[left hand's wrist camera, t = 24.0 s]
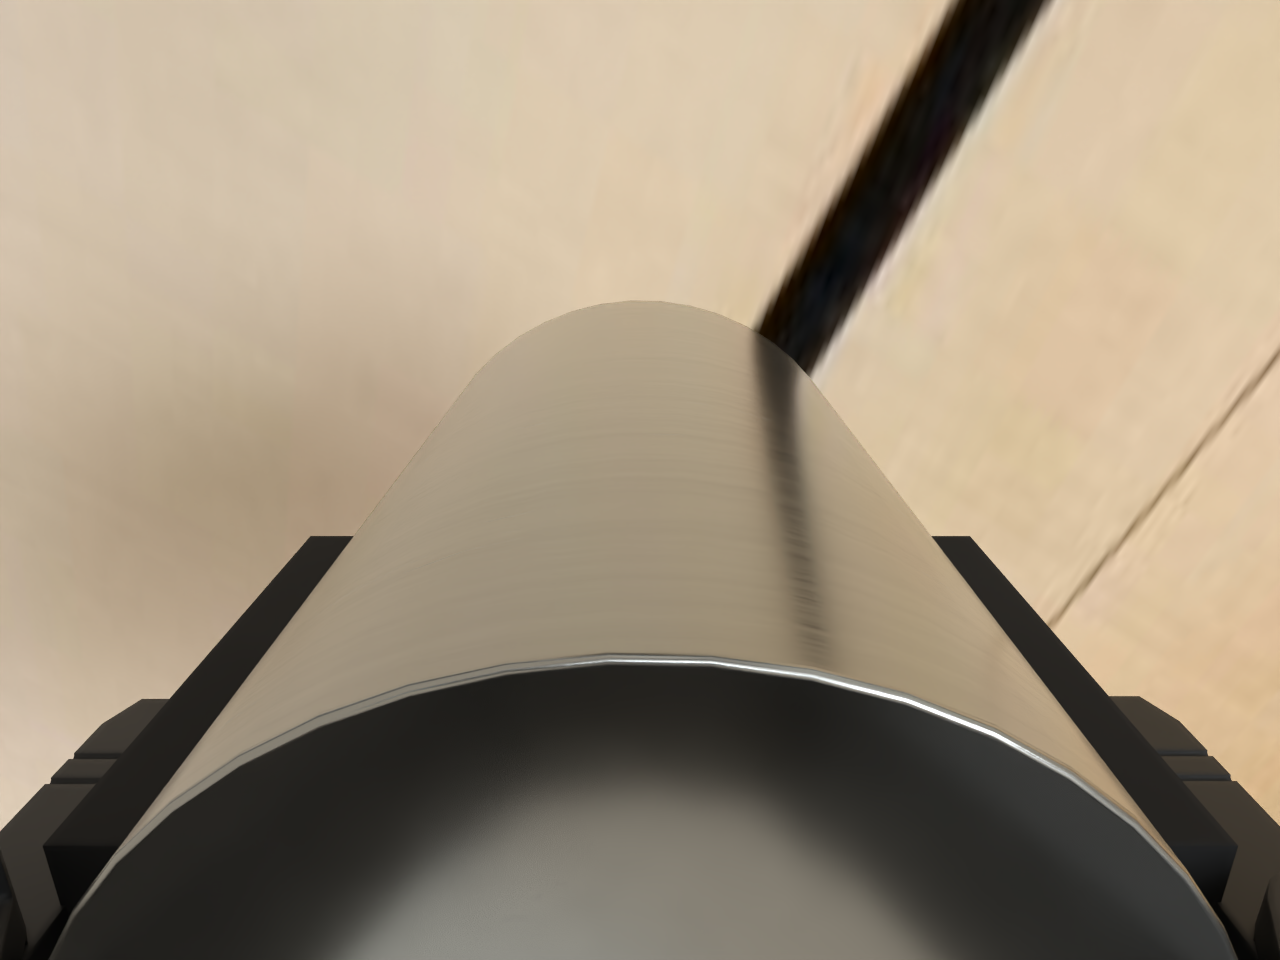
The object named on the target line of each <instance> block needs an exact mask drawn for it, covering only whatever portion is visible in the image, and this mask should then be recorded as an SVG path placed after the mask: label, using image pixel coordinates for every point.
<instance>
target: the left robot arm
mask: <svg viewBox="0 0 1280 960" xmlns="http://www.w3.org/2000/svg"><path fill="white" fill-rule="evenodd" d="M353 537H354V536H310V538H309V539H308V540H307V541H306V542H305V543H304V545H303V546H302V547H301V548H300V549H299V550H298V551H297V553H296V554H295V555H294V556H293V557H292V558H291V560H290V561H289V562H288V563H287V564H286V565H285V566H284V568H283V569H282V570H281V571H280V572H279V573H278V575H277V576H276V577H275V578H274V579H273V580H272V581H271V583H270V584H269V585H268V586H267V587H266V588H265V590H264V591H263V592H262V593H261V594H260V595H259V596H258V598H257V599H256V600H255V601H254V602H253V603H252V605H251V606H250V607H249V608H248V609H247V610H246V611H245V613H244V614H243V615H242V616H241V617H240V618H239V619H238V621H237V622H236V623H235V624H234V625H233V626H232V628H231V629H230V630H229V631H228V632H227V633H226V634H225V636H224V637H223V638H222V639H221V640H220V641H219V643H218V644H217V645H216V646H215V647H214V648H213V649H212V651H211V652H210V653H209V654H208V655H207V656H206V658H205V659H204V660H203V661H202V662H201V663H200V664H199V666H198V667H197V668H196V669H195V670H194V671H193V673H192V674H191V675H190V676H189V677H188V678H187V679H186V681H185V682H184V683H183V684H182V685H181V686H180V688H179V689H178V690H177V691H176V692H175V693H174V694H173V696H172V697H171V698H170V699H141V700H140V701H138V702H137V703H135V704H133V705H132V706H130V707H129V708H127V709H125V710H124V711H122V712H121V713H119V714H117V715H116V716H114V717H113V718H111V719H109V720H108V721H106V722H105V723H103V724H102V725H101V726H100V727H99V728H98V729H97V730H96V731H95V732H94V733H93V734H92V735H91V736H90V737H89V738H88V739H87V740H86V741H85V743H84V744H83V745H82V746H81V747H80V748H79V749H78V750H77V751H76V752H75V753H74V758H73V759H68V760H67V762H66V763H65V764H64V765H63V766H62V767H61V768H60V769H59V770H58V771H57V772H56V773H55V774H54V775H53V776H52V777H51V783H50V784H45V785H44V786H43V787H42V788H41V789H40V790H39V791H38V792H37V793H36V794H35V795H34V796H33V797H32V798H31V800H30V801H29V802H28V803H27V804H26V805H25V806H24V807H23V808H22V809H21V810H20V811H19V812H18V813H17V814H16V815H15V816H14V817H13V819H12V820H11V821H10V822H9V823H8V824H7V825H6V826H5V827H4V828H3V829H2V830H1V831H0V960H48V959H49V957H50V955H51V953H52V951H53V949H54V947H55V945H56V943H57V941H58V939H59V937H60V935H61V933H62V931H63V929H64V927H65V925H66V923H67V921H68V919H69V916H70V914H71V912H72V910H73V908H74V907H75V906H76V904H77V903H78V902H79V900H80V899H81V898H82V896H83V895H84V894H85V892H86V891H87V890H88V888H89V887H90V886H91V884H92V883H93V882H94V880H95V879H96V878H97V876H98V875H99V874H100V872H101V871H102V870H103V868H104V867H105V866H106V864H107V863H108V862H109V860H110V859H111V858H112V856H113V855H114V854H115V852H116V851H117V850H118V848H119V847H120V846H121V844H122V843H123V842H124V840H125V839H126V838H127V836H128V835H129V834H130V832H131V831H132V830H133V828H134V827H135V826H136V824H137V823H138V822H139V820H140V819H141V818H142V816H143V815H144V814H145V812H146V811H147V810H148V808H149V807H150V806H151V804H152V803H153V802H154V801H155V799H156V798H157V797H158V795H159V794H160V793H161V791H162V790H163V789H164V787H165V786H166V785H167V783H168V782H169V781H170V779H171V778H172V777H173V775H174V774H175V773H176V771H177V770H178V769H179V767H180V766H181V765H182V763H183V762H184V761H185V759H186V758H187V757H188V755H189V754H190V753H191V751H192V750H193V749H194V747H195V746H196V745H197V744H198V742H199V741H200V740H201V738H202V737H203V736H204V734H205V733H206V732H207V730H208V729H209V728H210V726H211V725H212V724H213V722H214V721H215V720H216V718H217V717H218V716H219V714H220V713H221V712H222V710H223V709H224V708H225V706H226V705H227V704H228V702H229V701H230V700H231V698H232V697H233V696H234V694H235V693H236V692H237V690H238V689H239V688H240V686H241V685H242V684H243V683H244V681H245V680H246V679H247V677H248V676H249V675H250V673H251V672H252V671H253V669H254V668H255V667H256V665H257V664H258V663H259V661H260V660H261V659H262V657H263V656H264V655H265V653H266V652H267V651H268V649H269V648H270V647H271V645H272V644H273V643H274V641H275V640H276V639H277V637H278V636H279V635H280V633H281V632H282V631H283V629H284V628H285V627H286V626H287V624H288V623H289V622H290V620H291V619H292V618H293V616H294V615H295V614H296V612H297V611H298V610H299V608H300V607H301V606H302V604H303V603H304V602H305V600H306V599H307V598H308V596H309V595H310V594H311V592H312V591H313V590H314V588H315V587H316V586H317V584H318V583H319V582H320V580H321V579H322V578H323V576H324V575H325V574H326V572H327V571H328V570H329V569H330V567H331V566H332V565H333V563H334V562H335V561H336V559H337V558H338V557H339V555H340V554H341V553H342V551H343V550H344V549H345V547H346V546H347V545H348V543H349V542H350V541H351V539H352V538H353ZM931 537H932V538H933V539H934V540H935V542H936V543H937V544H938V546H939V547H940V548H941V550H942V551H943V552H944V554H945V555H946V556H947V557H948V559H949V560H950V561H951V563H952V564H953V565H954V567H955V568H956V569H957V570H958V572H959V573H960V574H961V576H962V577H963V578H964V580H965V581H966V582H967V584H968V585H969V586H970V587H971V589H972V590H973V591H974V593H975V594H976V595H977V597H978V598H979V599H980V601H981V602H982V603H983V604H984V606H985V607H986V608H987V610H988V611H989V612H990V614H991V615H992V616H993V617H994V619H995V620H996V621H997V623H998V624H999V625H1000V627H1001V628H1002V629H1003V631H1004V632H1005V633H1006V634H1007V636H1008V637H1009V638H1010V640H1011V641H1012V642H1013V644H1014V645H1015V646H1016V647H1017V649H1018V650H1019V651H1020V653H1021V654H1022V655H1023V657H1024V658H1025V659H1026V661H1027V662H1028V663H1029V664H1030V666H1031V667H1032V668H1033V670H1034V671H1035V672H1036V674H1037V675H1038V676H1039V678H1040V679H1041V680H1042V681H1043V683H1044V684H1045V685H1046V687H1047V688H1048V689H1049V691H1050V692H1051V693H1052V694H1053V696H1054V697H1055V698H1056V700H1057V701H1058V702H1059V704H1060V705H1061V706H1062V708H1063V709H1064V710H1065V711H1066V713H1067V714H1068V715H1069V717H1070V718H1071V719H1072V721H1073V722H1074V723H1075V724H1076V726H1077V727H1078V728H1079V730H1080V731H1081V732H1082V734H1083V735H1084V736H1085V738H1086V739H1087V740H1088V741H1089V743H1090V744H1091V745H1092V747H1093V748H1094V749H1095V751H1096V752H1097V753H1098V755H1099V756H1100V757H1101V758H1102V760H1103V761H1104V762H1105V764H1106V765H1107V766H1108V768H1109V769H1110V770H1111V771H1112V773H1113V774H1114V775H1115V777H1116V778H1117V779H1118V781H1119V782H1120V783H1121V785H1122V786H1123V787H1124V788H1125V790H1126V791H1127V792H1128V794H1129V795H1130V796H1131V798H1132V799H1133V800H1134V802H1135V803H1136V804H1137V805H1138V807H1139V808H1140V809H1141V811H1142V812H1143V813H1144V815H1145V816H1146V817H1147V818H1148V820H1149V821H1150V822H1151V824H1152V825H1153V826H1154V828H1155V829H1156V830H1157V832H1158V833H1159V834H1160V835H1161V837H1162V838H1163V839H1164V841H1165V842H1166V843H1167V845H1168V846H1169V847H1170V848H1171V850H1172V851H1173V852H1174V854H1175V855H1176V856H1177V858H1178V859H1179V860H1180V862H1181V863H1182V864H1183V865H1184V867H1185V868H1186V869H1187V871H1188V872H1189V874H1190V875H1191V877H1192V878H1193V880H1194V881H1195V883H1196V884H1197V886H1198V887H1199V889H1200V890H1201V892H1202V894H1203V895H1204V897H1205V898H1206V900H1207V901H1208V903H1209V904H1210V906H1211V907H1212V909H1213V910H1214V912H1215V913H1216V915H1217V916H1218V918H1219V919H1220V921H1221V922H1222V924H1223V925H1224V927H1225V930H1226V932H1227V934H1228V937H1229V939H1230V941H1231V944H1232V946H1233V949H1234V951H1235V953H1236V956H1237V958H1238V960H1280V826H1279V825H1278V824H1277V823H1276V822H1275V821H1274V820H1273V819H1272V818H1271V817H1270V816H1269V815H1268V814H1267V813H1266V812H1265V810H1264V809H1263V808H1262V807H1261V806H1260V805H1259V804H1258V803H1257V802H1256V801H1255V800H1254V799H1253V798H1252V797H1251V796H1250V795H1249V794H1248V793H1247V792H1246V791H1245V790H1244V788H1243V787H1242V786H1241V785H1240V784H1239V783H1238V782H1237V781H1232V780H1231V778H1230V774H1229V773H1228V772H1227V771H1226V770H1225V769H1224V768H1223V766H1222V765H1221V764H1220V763H1219V762H1218V761H1217V760H1216V759H1215V758H1214V757H1213V756H1208V754H1207V750H1206V749H1205V748H1204V747H1203V745H1202V744H1201V743H1200V742H1199V741H1198V740H1197V739H1196V738H1195V737H1194V736H1193V735H1192V734H1191V733H1190V732H1189V731H1188V730H1187V729H1186V728H1185V727H1184V726H1183V725H1182V723H1181V722H1180V721H1178V720H1177V719H1175V718H1173V717H1172V716H1170V715H1168V714H1167V713H1165V712H1164V711H1162V710H1160V709H1159V708H1157V707H1156V706H1154V705H1152V704H1151V703H1149V702H1148V701H1146V700H1144V699H1143V698H1141V697H1139V696H1108V695H1107V694H1106V693H1105V691H1104V690H1103V689H1102V688H1101V687H1100V686H1099V685H1098V683H1097V682H1096V681H1095V680H1094V679H1093V678H1092V676H1091V675H1090V674H1089V673H1088V672H1087V671H1086V670H1085V668H1084V667H1083V666H1082V665H1081V664H1080V663H1079V661H1078V660H1077V659H1076V658H1075V657H1074V656H1073V655H1072V653H1071V652H1070V651H1069V650H1068V649H1067V648H1066V646H1065V645H1064V644H1063V643H1062V642H1061V641H1060V640H1059V638H1058V637H1057V636H1056V635H1055V634H1054V633H1053V631H1052V630H1051V629H1050V628H1049V627H1048V626H1047V625H1046V623H1045V622H1044V621H1043V620H1042V619H1041V618H1040V617H1039V615H1038V614H1037V613H1036V612H1035V611H1034V610H1033V608H1032V607H1031V606H1030V605H1029V604H1028V603H1027V602H1026V600H1025V599H1024V598H1023V597H1022V596H1021V595H1020V593H1019V592H1018V591H1017V590H1016V589H1015V588H1014V587H1013V585H1012V584H1011V583H1010V582H1009V581H1008V580H1007V578H1006V577H1005V576H1004V575H1003V574H1002V573H1001V572H1000V570H999V569H998V568H997V567H996V566H995V565H994V563H993V562H992V561H991V560H990V559H989V558H988V557H987V555H986V554H985V553H984V552H983V551H982V550H981V548H980V547H979V546H978V545H977V544H976V543H975V542H974V540H973V539H972V538H971V537H970V536H931Z"/></svg>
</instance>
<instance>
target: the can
mask: <svg viewBox="0 0 1280 960" xmlns="http://www.w3.org/2000/svg"><path fill="white" fill-rule="evenodd" d="M48 960H1238V958H1237V956H1236V953H1235V951H1234V949H1233V946H1232V944H1231V941H1230V939H1229V937H1228V934H1227V932H1226V930H1225V927H1224V925H1223V924H1222V922H1221V921H1220V919H1219V918H1218V916H1217V915H1216V913H1215V912H1214V910H1213V909H1212V907H1211V906H1210V904H1209V903H1208V901H1207V900H1206V898H1205V897H1204V895H1203V894H1202V892H1201V890H1200V889H1199V887H1198V886H1197V884H1196V883H1195V881H1194V880H1193V878H1192V877H1191V875H1190V874H1189V872H1188V871H1187V869H1186V868H1185V867H1184V865H1183V864H1182V863H1181V862H1180V860H1179V859H1178V858H1177V856H1176V855H1175V854H1174V852H1173V851H1172V850H1171V848H1170V847H1169V846H1168V845H1167V843H1166V842H1165V841H1164V839H1163V838H1162V837H1161V835H1160V834H1159V833H1158V832H1157V830H1156V829H1155V828H1154V826H1153V825H1152V824H1151V822H1150V821H1149V820H1148V818H1147V817H1146V816H1145V815H1144V813H1143V812H1142V811H1141V809H1140V808H1139V807H1138V805H1137V804H1136V803H1135V802H1134V800H1133V799H1132V798H1131V796H1130V795H1129V794H1128V792H1127V791H1126V790H1125V788H1124V787H1123V786H1122V785H1121V783H1120V782H1119V781H1118V779H1117V778H1116V777H1115V775H1114V774H1113V773H1112V771H1111V770H1110V769H1109V768H1108V766H1107V765H1106V764H1105V762H1104V761H1103V760H1102V758H1101V757H1100V756H1099V755H1098V753H1097V752H1096V751H1095V749H1094V748H1093V747H1092V745H1091V744H1090V743H1089V741H1088V740H1087V739H1086V738H1085V736H1084V735H1083V734H1082V732H1081V731H1080V730H1079V728H1078V727H1077V726H1076V724H1075V723H1074V722H1073V721H1072V719H1071V718H1070V717H1069V715H1068V714H1067V713H1066V711H1065V710H1064V709H1063V708H1062V706H1061V705H1060V704H1059V702H1058V701H1057V700H1056V698H1055V697H1054V696H1053V694H1052V693H1051V692H1050V691H1049V689H1048V688H1047V687H1046V685H1045V684H1044V683H1043V681H1042V680H1041V679H1040V678H1039V676H1038V675H1037V674H1036V672H1035V671H1034V670H1033V668H1032V667H1031V666H1030V664H1029V663H1028V662H1027V661H1026V659H1025V658H1024V657H1023V655H1022V654H1021V653H1020V651H1019V650H1018V649H1017V647H1016V646H1015V645H1014V644H1013V642H1012V641H1011V640H1010V638H1009V637H1008V636H1007V634H1006V633H1005V632H1004V631H1003V629H1002V628H1001V627H1000V625H999V624H998V623H997V621H996V620H995V619H994V617H993V616H992V615H991V614H990V612H989V611H988V610H987V608H986V607H985V606H984V604H983V603H982V602H981V601H980V599H979V598H978V597H977V595H976V594H975V593H974V591H973V590H972V589H971V587H970V586H969V585H968V584H967V582H966V581H965V580H964V578H963V577H962V576H961V574H960V573H959V572H958V570H957V569H956V568H955V567H954V565H953V564H952V563H951V561H950V560H949V559H948V557H947V556H946V555H945V554H944V552H943V551H942V550H941V548H940V547H939V546H938V544H937V543H936V542H935V540H934V539H933V538H932V537H931V535H930V534H929V533H928V531H927V530H926V529H925V527H924V526H923V525H922V523H921V522H920V521H919V520H918V518H917V517H916V516H915V514H914V513H913V512H912V510H911V509H910V508H909V507H908V505H907V504H906V503H905V501H904V500H903V499H902V497H901V496H900V495H899V493H898V492H897V491H896V490H895V488H894V487H893V486H892V484H891V483H890V482H889V480H888V479H887V478H886V477H885V475H884V474H883V473H882V471H881V470H880V469H879V467H878V466H877V465H876V463H875V462H874V461H873V460H872V458H871V457H870V456H869V454H868V453H867V452H866V450H865V449H864V448H863V446H862V445H861V444H860V443H859V441H858V440H857V439H856V437H855V436H854V435H853V433H852V432H851V431H850V430H849V428H848V427H847V426H846V424H845V423H844V422H843V420H842V419H841V418H840V416H839V415H838V414H837V413H836V411H835V410H834V409H833V407H832V406H831V405H830V403H829V402H828V401H827V400H826V398H825V397H824V396H823V394H822V393H821V392H820V390H819V389H818V388H817V386H816V385H815V384H814V383H813V381H812V380H811V379H810V378H809V377H808V376H807V375H806V373H805V372H804V371H803V370H802V369H801V368H800V367H799V366H798V365H797V364H796V362H795V361H794V360H793V359H791V358H790V357H789V356H788V355H787V354H785V353H784V352H783V351H782V350H781V349H779V348H778V347H777V346H776V345H775V344H773V343H772V342H771V341H769V340H768V339H766V338H764V337H763V336H761V335H760V334H758V333H756V332H755V331H753V330H752V329H750V328H748V327H747V326H745V325H742V324H740V323H738V322H736V321H733V320H731V319H729V318H727V317H724V316H722V315H720V314H717V313H713V312H710V311H707V310H703V309H700V308H696V307H693V306H688V305H682V304H675V303H669V302H662V301H624V302H615V303H606V304H599V305H595V306H591V307H587V308H583V309H579V310H575V311H572V312H569V313H566V314H564V315H561V316H559V317H556V318H554V319H551V320H549V321H546V322H544V323H542V324H540V325H539V326H537V327H535V328H533V329H532V330H530V331H528V332H526V333H525V334H523V335H521V336H519V337H518V338H517V339H515V340H514V341H513V342H511V343H510V344H509V345H507V346H506V347H505V348H503V349H502V350H501V351H499V352H498V353H497V354H496V355H495V356H494V357H493V358H492V359H491V360H490V361H489V362H488V363H487V364H486V365H485V366H484V367H483V368H482V369H481V370H480V371H479V372H478V373H477V374H476V375H475V376H474V378H473V379H472V380H471V382H470V383H469V384H468V386H467V387H466V388H465V390H464V391H463V392H462V394H461V395H460V396H459V397H458V399H457V400H456V401H455V403H454V404H453V405H452V407H451V408H450V409H449V411H448V412H447V413H446V415H445V416H444V417H443V419H442V420H441V421H440V423H439V424H438V425H437V427H436V428H435V429H434V431H433V432H432V433H431V435H430V436H429V437H428V439H427V440H426V441H425V443H424V444H423V445H422V447H421V448H420V449H419V451H418V452H417V453H416V454H415V456H414V457H413V458H412V460H411V461H410V462H409V464H408V465H407V466H406V468H405V469H404V470H403V472H402V473H401V474H400V476H399V477H398V478H397V480H396V481H395V482H394V484H393V485H392V486H391V488H390V489H389V490H388V492H387V493H386V494H385V496H384V497H383V498H382V500H381V501H380V502H379V504H378V505H377V506H376V508H375V509H374V510H373V512H372V513H371V514H370V515H369V517H368V518H367V519H366V521H365V522H364V523H363V525H362V526H361V527H360V529H359V530H358V531H357V533H356V534H355V535H354V537H353V538H352V539H351V541H350V542H349V543H348V545H347V546H346V547H345V549H344V550H343V551H342V553H341V554H340V555H339V557H338V558H337V559H336V561H335V562H334V563H333V565H332V566H331V567H330V569H329V570H328V571H327V572H326V574H325V575H324V576H323V578H322V579H321V580H320V582H319V583H318V584H317V586H316V587H315V588H314V590H313V591H312V592H311V594H310V595H309V596H308V598H307V599H306V600H305V602H304V603H303V604H302V606H301V607H300V608H299V610H298V611H297V612H296V614H295V615H294V616H293V618H292V619H291V620H290V622H289V623H288V624H287V626H286V627H285V628H284V629H283V631H282V632H281V633H280V635H279V636H278V637H277V639H276V640H275V641H274V643H273V644H272V645H271V647H270V648H269V649H268V651H267V652H266V653H265V655H264V656H263V657H262V659H261V660H260V661H259V663H258V664H257V665H256V667H255V668H254V669H253V671H252V672H251V673H250V675H249V676H248V677H247V679H246V680H245V681H244V683H243V684H242V685H241V686H240V688H239V689H238V690H237V692H236V693H235V694H234V696H233V697H232V698H231V700H230V701H229V702H228V704H227V705H226V706H225V708H224V709H223V710H222V712H221V713H220V714H219V716H218V717H217V718H216V720H215V721H214V722H213V724H212V725H211V726H210V728H209V729H208V730H207V732H206V733H205V734H204V736H203V737H202V738H201V740H200V741H199V742H198V744H197V745H196V746H195V747H194V749H193V750H192V751H191V753H190V754H189V755H188V757H187V758H186V759H185V761H184V762H183V763H182V765H181V766H180V767H179V769H178V770H177V771H176V773H175V774H174V775H173V777H172V778H171V779H170V781H169V782H168V783H167V785H166V786H165V787H164V789H163V790H162V791H161V793H160V794H159V795H158V797H157V798H156V799H155V801H154V802H153V803H152V804H151V806H150V807H149V808H148V810H147V811H146V812H145V814H144V815H143V816H142V818H141V819H140V820H139V822H138V823H137V824H136V826H135V827H134V828H133V830H132V831H131V832H130V834H129V835H128V836H127V838H126V839H125V840H124V842H123V843H122V844H121V846H120V847H119V848H118V850H117V851H116V852H115V854H114V855H113V856H112V858H111V859H110V860H109V862H108V863H107V864H106V866H105V867H104V868H103V870H102V871H101V872H100V874H99V875H98V876H97V878H96V879H95V880H94V882H93V883H92V884H91V886H90V887H89V888H88V890H87V891H86V892H85V894H84V895H83V896H82V898H81V899H80V900H79V902H78V903H77V904H76V906H75V907H74V908H73V910H72V912H71V914H70V916H69V919H68V921H67V923H66V925H65V927H64V929H63V931H62V933H61V935H60V937H59V939H58V941H57V943H56V945H55V947H54V949H53V951H52V953H51V955H50V957H49V959H48Z"/></svg>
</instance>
